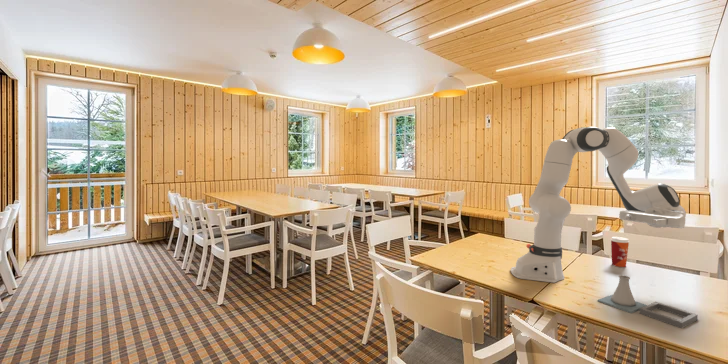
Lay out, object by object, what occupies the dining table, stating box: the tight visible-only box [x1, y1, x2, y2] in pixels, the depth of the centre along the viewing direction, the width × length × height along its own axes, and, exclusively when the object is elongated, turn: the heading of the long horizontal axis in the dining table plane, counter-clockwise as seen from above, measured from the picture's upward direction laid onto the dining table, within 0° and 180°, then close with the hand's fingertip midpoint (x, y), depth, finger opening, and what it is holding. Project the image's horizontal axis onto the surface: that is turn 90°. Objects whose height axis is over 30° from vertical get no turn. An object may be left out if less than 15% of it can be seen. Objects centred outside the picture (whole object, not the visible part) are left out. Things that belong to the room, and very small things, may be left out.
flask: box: [611, 274, 637, 306], centre depth 122 cm, size 7×7×10 cm
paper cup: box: [609, 236, 630, 268], centre depth 165 cm, size 8×8×14 cm
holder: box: [639, 301, 699, 329], centre depth 113 cm, size 11×11×2 cm
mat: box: [597, 294, 648, 314], centre depth 123 cm, size 11×11×1 cm
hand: (640, 220), depth 130 cm, fingers open, 8 cm apart
